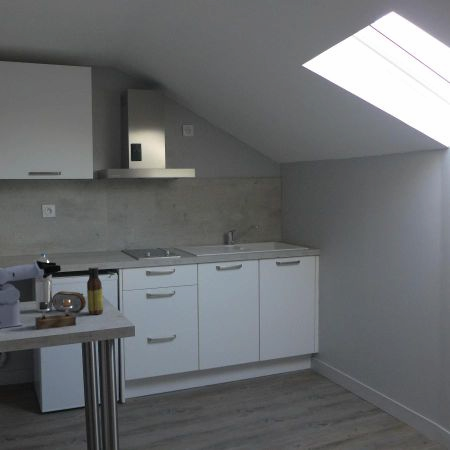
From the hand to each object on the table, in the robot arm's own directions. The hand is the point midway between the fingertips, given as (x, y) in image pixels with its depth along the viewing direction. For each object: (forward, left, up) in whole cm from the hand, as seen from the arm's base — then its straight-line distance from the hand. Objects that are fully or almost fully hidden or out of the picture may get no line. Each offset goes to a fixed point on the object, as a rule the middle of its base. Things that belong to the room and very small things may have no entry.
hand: (58, 266), depth 244 cm
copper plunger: (+1, -9, -19) cm, 21 cm away
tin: (+7, +12, -22) cm, 26 cm away
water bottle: (-2, +18, -22) cm, 28 cm away
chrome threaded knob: (-8, -9, -19) cm, 22 cm away
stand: (-4, -9, -22) cm, 24 cm away
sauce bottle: (+16, +3, -22) cm, 27 cm away
